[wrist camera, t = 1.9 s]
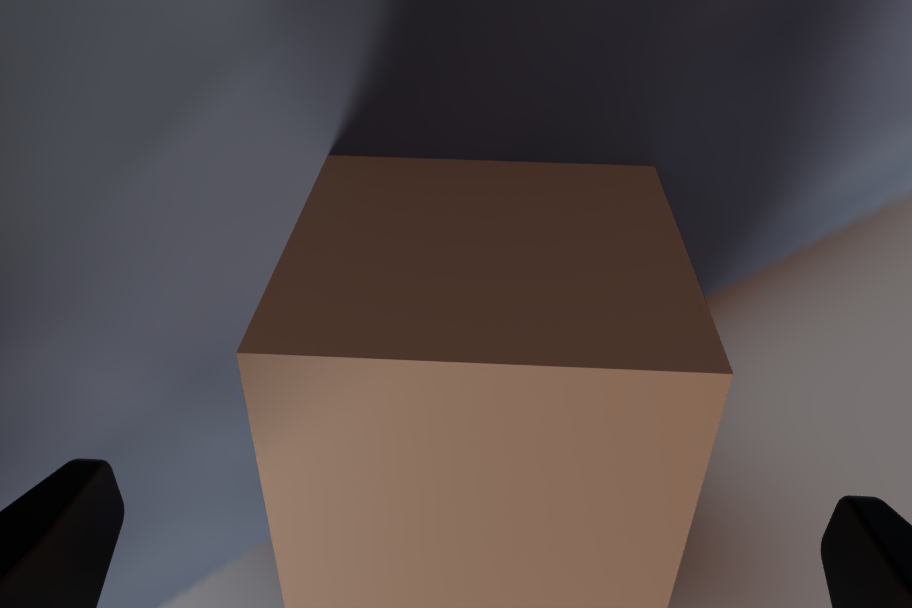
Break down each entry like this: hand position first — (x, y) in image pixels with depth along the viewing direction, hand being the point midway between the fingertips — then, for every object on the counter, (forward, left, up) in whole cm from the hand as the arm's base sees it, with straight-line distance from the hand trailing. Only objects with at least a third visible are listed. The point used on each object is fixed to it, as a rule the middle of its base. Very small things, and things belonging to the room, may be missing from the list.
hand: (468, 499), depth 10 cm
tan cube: (0, 0, -5) cm, 5 cm away
